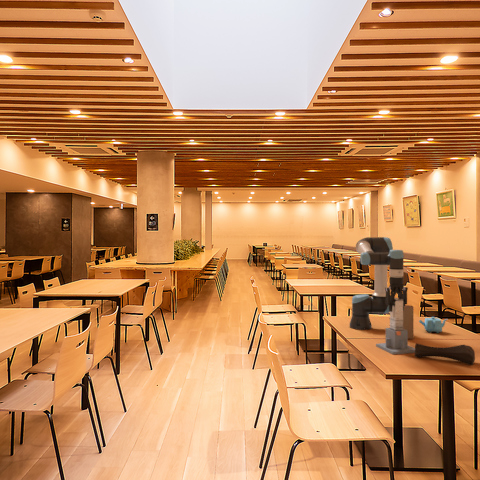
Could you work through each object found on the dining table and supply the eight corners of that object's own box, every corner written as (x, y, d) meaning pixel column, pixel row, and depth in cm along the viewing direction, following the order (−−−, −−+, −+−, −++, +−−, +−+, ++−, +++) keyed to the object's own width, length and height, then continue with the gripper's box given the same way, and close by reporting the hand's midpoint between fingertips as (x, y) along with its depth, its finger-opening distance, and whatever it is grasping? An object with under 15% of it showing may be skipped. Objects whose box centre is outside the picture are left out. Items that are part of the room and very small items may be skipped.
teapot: (420, 333, 250) (420, 318, 250) (417, 328, 263) (417, 314, 263) (450, 335, 245) (450, 319, 245) (445, 330, 258) (445, 315, 258)
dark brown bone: (476, 367, 190) (416, 365, 202) (473, 346, 195) (414, 346, 207) (477, 362, 181) (414, 361, 194) (473, 341, 186) (412, 341, 199)
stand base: (376, 346, 220) (376, 326, 220) (399, 344, 223) (399, 325, 223) (392, 354, 204) (392, 333, 204) (418, 352, 208) (418, 331, 208)
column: (389, 344, 216) (388, 298, 216) (397, 343, 217) (397, 297, 217) (395, 347, 210) (395, 299, 210) (404, 346, 211) (404, 299, 211)
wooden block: (413, 336, 242) (413, 305, 242) (413, 339, 233) (413, 308, 233) (396, 334, 247) (396, 304, 247) (396, 338, 238) (396, 306, 238)
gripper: (386, 277, 208) (386, 319, 208) (414, 276, 212) (414, 317, 212) (378, 276, 215) (378, 316, 215) (405, 275, 219) (405, 314, 219)
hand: (396, 316), depth 214 cm, fingers closed on column, 5 cm apart
